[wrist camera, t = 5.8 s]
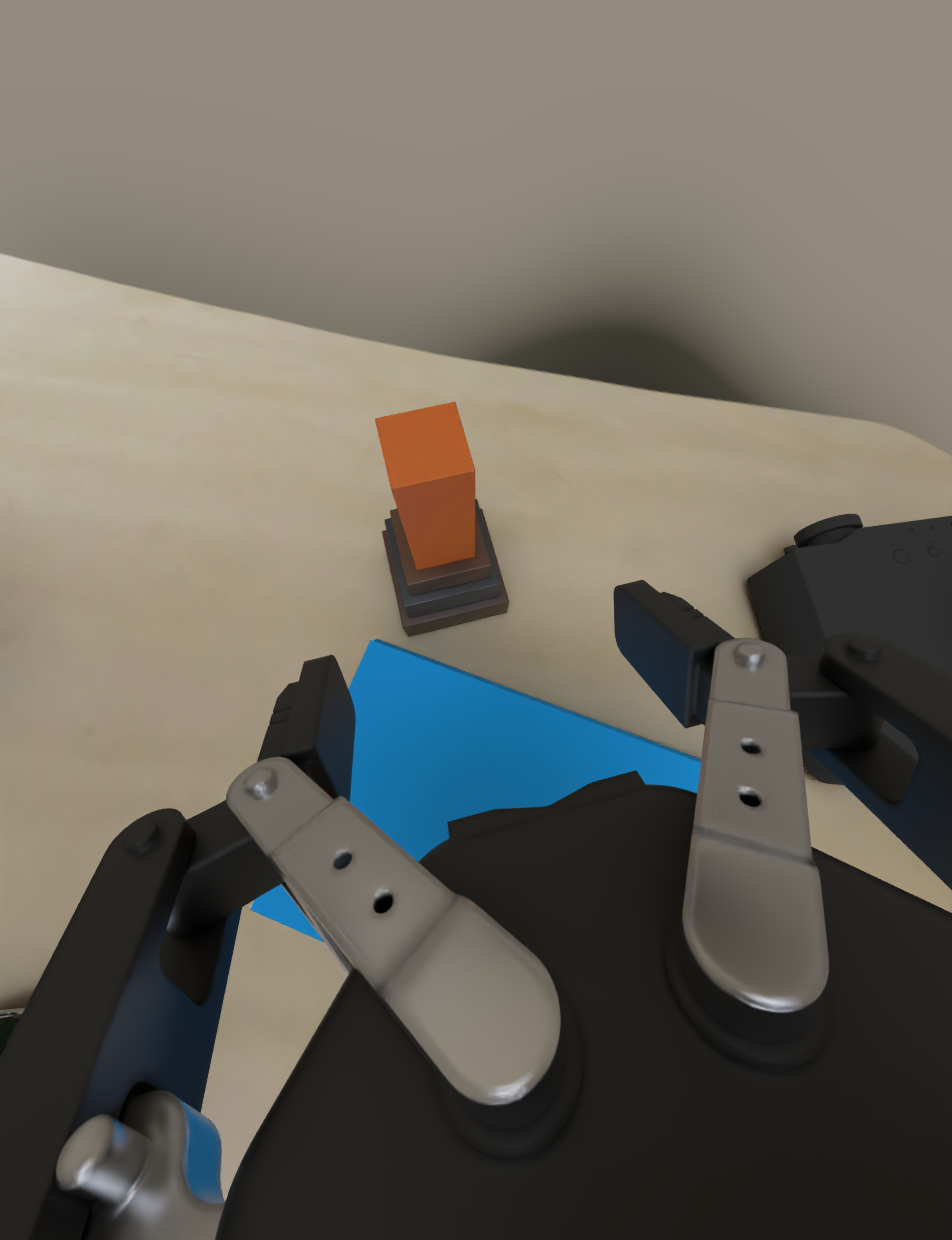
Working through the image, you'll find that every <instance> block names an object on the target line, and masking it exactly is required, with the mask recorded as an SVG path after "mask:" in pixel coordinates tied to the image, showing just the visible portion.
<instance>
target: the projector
mask: <svg viewBox="0 0 952 1240" xmlns="http://www.w3.org/2000/svg"><path fill="white" fill-rule="evenodd" d="M862 527H863V524H862V522H861V519H860V517H859V516H858V515H857V514H845V515H838V516H834V517H831V518H827V519H824V520H821V521H818V522H816V523H814V524H811V525H809V526H807V527H805V528H803V529H802V530H800V531H799V532H798V533H797V534H796V535H795V536H794V540H795V542H796V545H792V546H789V547H786V548H785V549H784V552H785V555H784V556H782V557H781V558H779V559H778V560H776V561H775V562H773V563H771V564H770V565H768V566H767V567H765V568H763V569H762V570H760V571H759V572H757V573H756V574H754V575H752V576H751V577H749V578H748V579H747V585H748V588H749V591H750V594H751V598H752V601H753V604H754V607H755V610H756V613H757V616H758V619H759V622H760V626H761V629H762V632H763V635H764V638H765V641H766V642H768V643H770V644H773V645H774V646H776V647H778V648H779V649H780V650H781V651H782V652H783V653H784V654H785V656H799V655H821V654H822V650H823V646H824V642H825V641H826V639H828V638H829V637H831V636H833V635H837V634H842V633H862V634H869V635H873V636H877V637H881V638H884V639H886V640H889V641H891V642H893V643H895V644H897V645H898V646H900V647H902V648H903V649H905V650H907V651H909V652H910V653H912V654H914V655H916V656H917V657H919V658H921V659H922V660H924V661H926V662H928V663H929V664H931V665H933V666H934V667H936V668H938V669H940V670H941V671H943V672H945V673H947V674H948V675H950V676H952V516H947V517H940V518H932V519H925V520H917V521H909V522H902V523H894V524H887V525H879V526H872V527H864V528H862ZM882 733H883V734H885V735H886V736H887V737H889V738H890V739H891V740H892V741H894V742H895V743H896V744H897V745H899V746H900V747H901V748H903V749H904V750H905V751H906V752H908V753H909V754H910V755H911V756H913V757H914V758H915V759H917V760H918V761H919V756H918V752H917V750H916V747H915V746H914V744H913V743H912V741H911V740H910V739H909V738H908V737H907V736H905V735H904V734H903V733H902V732H900V731H899V730H898V729H896V728H895V727H894V726H892V725H891V724H890V723H888V722H887V721H885V724H884V726H883V729H882ZM802 757H803V760H804V763H805V765H806V768H807V770H808V771H809V773H810V774H811V775H812V776H813V777H814V778H816V779H817V780H818V781H820V782H822V783H827V784H838V785H844V784H843V783H842V782H841V781H840V780H839V779H838V778H837V777H836V776H835V775H834V774H833V773H831V772H830V771H829V770H828V769H827V768H826V767H825V766H824V765H823V764H822V763H821V762H820V761H819V760H818V759H817V758H816V757H815V756H814V755H813V754H812V753H811V752H810V751H809V750H808V749H802Z"/></svg>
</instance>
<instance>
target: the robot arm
mask: <svg viewBox="0 0 952 1240" xmlns="http://www.w3.org/2000/svg"><path fill="white" fill-rule="evenodd" d="M614 624H615V638H616V642H617V645H618V648H619V650H620V652H621V653H622V654H623V656H624V657H625V658H626V659H627V660H628V662H629V663H630V664H631V665H632V666H633V667H634V669H635V670H636V671H637V672H638V673H639V675H640V676H641V677H642V678H643V679H644V680H645V682H646V683H647V684H648V685H649V686H650V687H651V689H652V690H653V691H654V692H655V693H656V695H657V696H658V697H659V698H660V699H661V700H662V702H663V703H664V704H665V705H666V706H667V708H668V709H669V710H670V711H671V712H672V713H673V715H674V716H675V717H676V718H677V719H678V721H679V722H680V723H681V724H682V725H683V726H684V728H689V727H693V726H696V725H700V724H704V725H705V734H704V742H703V750H702V758H701V767H700V775H699V783H698V791H697V793H695V792H692V791H689V790H685V789H681V788H677V787H672V786H666V785H654V784H645V783H644V781H643V780H642V778H641V777H640V775H639V773H638V772H637V770H635V771H631V772H627V773H624V774H620V775H617V776H613V777H609V778H606V779H602V780H598V781H595V782H591V783H589V784H587V785H586V786H584V787H582V788H580V789H578V790H576V791H575V792H573V793H571V794H569V795H567V796H566V797H564V798H562V799H560V800H558V801H557V802H555V803H553V804H551V805H549V806H544V807H527V808H504V809H493V810H489V811H485V812H482V813H478V814H474V815H471V816H467V817H463V818H460V819H456V820H452V821H449V822H447V824H448V831H449V838H448V839H447V840H445V841H443V842H441V843H440V844H439V845H437V846H436V847H434V848H433V849H431V850H430V851H429V852H428V853H427V854H426V855H425V856H423V857H422V858H421V859H420V860H419V862H417V861H416V860H415V859H414V858H413V857H412V856H411V855H409V854H408V853H407V852H406V851H405V850H404V849H403V848H401V847H400V846H399V845H398V844H397V843H396V842H395V841H394V840H392V839H391V838H390V837H389V836H388V835H387V834H386V833H384V832H383V831H382V830H381V829H380V828H379V827H378V826H376V825H375V824H374V823H373V822H372V821H371V820H370V819H368V818H367V817H366V816H365V815H364V814H363V813H362V812H360V811H359V810H358V809H357V808H356V807H355V806H354V805H353V804H351V803H350V793H351V779H352V766H353V752H354V739H355V725H356V715H355V708H354V704H353V701H352V698H351V695H350V693H349V690H348V688H347V685H346V683H345V680H344V677H343V675H342V672H341V670H340V667H339V665H338V662H337V660H336V658H335V657H334V656H333V655H329V656H325V657H321V658H317V659H313V660H309V661H305V662H304V664H303V668H302V672H301V675H300V679H299V682H294V683H290V684H288V686H287V687H286V688H285V689H284V690H283V692H282V693H281V694H280V695H279V696H278V698H277V700H276V704H275V707H274V710H273V714H272V716H271V719H270V722H269V723H270V725H269V726H268V729H267V732H266V735H265V738H264V741H263V744H262V747H261V751H260V754H259V757H258V760H257V763H255V764H253V765H251V766H250V767H248V768H247V769H245V770H244V771H243V772H242V773H241V774H239V775H238V776H237V777H236V779H235V780H234V781H233V782H232V784H231V785H230V787H229V789H228V791H227V794H226V800H225V801H223V802H221V803H220V804H218V805H216V806H214V807H212V808H210V809H208V810H206V811H204V812H202V813H200V814H198V815H196V816H194V817H192V818H190V819H188V820H186V819H185V818H184V816H183V815H182V814H181V812H179V811H178V810H176V809H170V808H167V809H161V810H157V811H154V812H151V813H149V814H147V815H145V816H143V817H141V818H139V819H137V820H136V821H135V822H133V823H132V824H130V825H129V826H128V827H126V828H125V829H124V830H123V831H122V832H121V833H120V834H119V835H118V836H117V837H116V838H115V839H114V840H113V841H112V843H111V844H110V845H109V847H108V849H107V850H106V852H105V854H104V856H103V858H102V860H101V862H100V864H99V866H98V867H97V869H96V871H95V873H94V875H93V877H92V879H91V881H90V883H89V885H88V887H87V889H86V891H85V893H84V895H83V897H82V899H81V901H80V903H79V904H78V906H77V908H76V910H75V912H74V914H73V916H72V918H71V920H70V922H69V924H68V926H67V928H66V930H65V932H64V934H63V936H62V938H61V939H60V941H59V943H58V945H57V947H56V949H55V951H54V953H53V955H52V957H51V959H50V961H49V963H48V965H47V967H46V969H45V971H44V973H43V975H42V976H41V978H40V980H39V982H38V984H37V986H36V988H35V990H34V992H33V994H32V996H31V998H30V1000H29V1002H28V1004H27V1006H26V1008H25V1010H24V1011H23V1013H22V1015H21V1017H20V1019H19V1021H18V1023H17V1025H16V1027H15V1029H14V1031H13V1033H12V1035H11V1037H10V1039H9V1041H8V1043H7V1045H6V1047H5V1048H4V1050H3V1052H2V1054H1V1056H0V1240H952V913H951V912H948V911H946V910H944V909H942V908H940V907H938V906H936V905H934V904H931V903H929V902H927V901H925V900H923V899H921V898H919V897H917V896H915V895H912V894H910V893H908V892H906V891H904V890H902V889H900V888H898V887H895V886H893V885H891V884H889V883H887V882H885V881H883V880H881V879H879V878H876V877H874V876H872V875H870V874H868V873H866V872H864V871H862V870H860V869H857V868H855V867H853V866H851V865H849V864H847V863H845V862H843V861H840V860H838V859H836V858H834V857H832V856H830V855H828V854H826V853H824V852H821V851H819V850H817V849H815V848H813V847H811V841H810V830H809V820H808V809H807V799H806V789H805V778H804V768H803V758H802V749H808V750H809V751H810V752H811V753H812V754H813V755H814V756H815V757H816V758H817V759H818V760H819V761H820V762H821V763H822V764H823V765H824V766H825V767H826V768H827V769H828V770H829V771H830V772H831V773H833V774H834V775H835V776H836V777H837V778H838V779H839V780H840V781H841V782H842V783H843V784H844V785H845V786H846V787H847V788H848V789H849V790H850V791H851V792H852V793H853V794H854V795H855V796H856V797H857V798H858V799H859V800H860V801H861V802H862V803H863V804H864V805H865V806H866V807H867V808H868V809H869V810H870V811H871V812H872V813H873V814H874V815H875V816H877V817H878V818H879V819H880V820H881V821H882V822H883V823H884V824H885V825H886V826H887V827H888V828H889V829H890V830H891V831H892V832H893V833H894V834H895V835H896V836H897V837H898V838H899V839H900V840H901V841H902V842H903V843H904V844H905V845H906V846H907V847H908V848H909V849H910V850H911V851H912V852H913V853H914V854H915V855H916V856H917V857H918V858H920V859H921V860H922V861H923V862H924V863H925V864H926V865H927V866H928V867H929V868H930V869H931V870H932V871H933V872H934V873H935V874H936V875H937V876H938V877H939V878H940V879H941V880H942V881H943V882H944V883H945V884H946V885H947V886H948V887H949V888H950V889H951V890H952V676H950V675H948V674H947V673H945V672H943V671H941V670H940V669H938V668H936V667H934V666H933V665H931V664H929V663H928V662H926V661H924V660H922V659H921V658H919V657H917V656H916V655H914V654H912V653H910V652H909V651H907V650H905V649H903V648H902V647H900V646H898V645H897V644H895V643H893V642H891V641H889V640H886V639H884V638H881V637H877V636H873V635H869V634H862V633H842V634H837V635H833V636H831V637H829V638H828V639H826V641H825V642H824V646H823V650H822V654H821V655H799V656H785V654H784V653H783V652H782V651H781V650H780V649H779V648H778V647H776V646H774V645H773V644H770V643H768V642H765V641H762V640H757V639H751V638H736V639H735V638H734V637H732V636H731V635H730V634H729V633H727V632H726V631H725V630H723V629H722V628H721V627H719V626H718V625H717V624H715V623H714V622H713V621H711V620H710V619H709V618H707V617H706V616H705V617H704V616H703V614H702V613H701V612H699V611H698V610H697V609H694V607H693V606H692V605H690V604H689V603H688V602H686V601H685V600H684V599H682V598H680V597H677V596H675V595H672V594H669V593H666V592H662V593H659V592H658V591H657V590H655V589H654V588H653V587H652V586H650V585H649V584H648V583H647V582H645V581H644V580H639V581H635V582H631V583H627V584H623V585H619V586H616V587H615V589H614ZM885 721H887V722H888V723H890V724H891V725H892V726H894V727H895V728H896V729H898V730H899V731H900V732H902V733H903V734H904V735H905V736H907V737H908V738H909V739H910V740H911V741H912V743H913V744H914V746H915V747H916V750H917V752H918V756H919V761H918V760H917V759H915V758H914V757H913V756H911V755H910V754H909V753H908V752H906V751H905V750H904V749H903V748H901V747H900V746H899V745H897V744H896V743H895V742H894V741H892V740H891V739H890V738H889V737H887V736H886V735H885V734H883V733H882V729H883V726H884V724H885ZM280 884H281V885H282V887H283V888H284V889H285V891H286V892H287V893H288V895H289V896H290V897H291V899H292V900H293V901H294V903H295V904H296V905H297V906H298V908H299V909H300V910H301V912H302V913H303V914H304V916H305V917H306V918H307V920H308V921H309V922H310V924H311V925H312V926H313V928H314V929H315V930H316V932H317V933H318V934H319V935H320V937H321V938H322V939H323V941H324V942H325V944H326V945H327V946H328V948H329V949H330V951H331V952H332V953H333V955H334V956H335V958H336V959H337V961H338V962H339V963H340V965H341V966H342V967H343V969H344V970H345V972H346V973H347V974H348V977H347V978H346V980H345V982H344V983H343V985H342V987H341V989H340V990H339V992H338V994H337V995H336V997H335V999H334V1001H333V1002H332V1004H331V1006H330V1008H329V1009H328V1011H327V1013H326V1014H325V1016H324V1018H323V1020H322V1021H321V1023H320V1025H319V1026H318V1028H317V1030H316V1032H315V1033H314V1035H313V1037H312V1038H311V1040H310V1042H309V1044H308V1045H307V1047H306V1049H305V1051H304V1052H303V1054H302V1056H301V1057H300V1059H299V1061H298V1063H297V1064H296V1066H295V1068H294V1069H293V1071H292V1073H291V1075H290V1076H289V1078H288V1080H287V1082H286V1083H285V1085H284V1087H283V1088H282V1090H281V1092H280V1094H279V1095H278V1097H277V1099H276V1100H275V1102H274V1104H273V1106H272V1107H271V1109H270V1111H269V1113H268V1114H267V1116H266V1118H265V1119H264V1121H263V1123H262V1125H261V1126H260V1128H259V1130H258V1131H257V1133H256V1135H255V1137H254V1138H253V1140H252V1142H251V1144H250V1146H249V1148H248V1149H247V1151H246V1153H245V1155H244V1157H243V1159H242V1161H241V1164H240V1166H239V1168H238V1170H237V1173H236V1175H235V1177H234V1180H233V1182H232V1185H231V1187H230V1190H229V1193H228V1196H227V1199H226V1202H225V1201H224V1199H223V1194H222V1190H221V1181H220V1170H221V1153H222V1151H221V1140H220V1136H219V1133H218V1130H217V1128H216V1126H215V1125H214V1124H213V1123H212V1121H211V1120H209V1119H208V1118H206V1117H205V1116H204V1115H202V1114H201V1108H202V1103H203V1098H204V1093H205V1088H206V1083H207V1078H208V1073H209V1068H210V1063H211V1058H212V1053H213V1048H214V1043H215V1039H216V1034H217V1029H218V1024H219V1019H220V1014H221V1009H222V1004H223V999H224V994H225V989H226V984H227V979H228V974H229V969H230V964H231V960H232V955H233V950H234V945H235V940H236V935H237V930H238V925H239V920H240V915H241V910H242V907H243V906H244V905H246V904H248V903H250V902H251V901H253V900H255V899H256V898H258V897H260V896H262V895H263V894H265V893H267V892H268V891H270V890H272V889H273V888H275V887H277V886H279V885H280Z"/></svg>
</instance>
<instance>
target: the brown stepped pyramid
mask: <svg viewBox="0 0 952 1240" xmlns="http://www.w3.org/2000/svg"><path fill="white" fill-rule="evenodd" d="M390 514H391V518H389V519H385V525H386V529H387V530H385V531H382V534H383V539H384V543H385V548H386V552H387V557H388V561H389V566H390V570H391V575H392V579H393V584H394V589H395V593H396V598H397V602H398V607H399V611H400V616H401V620H402V625H403V628H404V630H405V632H406V633H407V635H408V636H412V635H416V634H420V633H425V632H429V631H433V630H437V629H441V628H445V627H449V626H453V625H457V624H461V623H465V622H469V621H473V620H477V619H481V618H486V617H490V616H494V615H498V614H502V613H506V612H507V608H508V604H509V600H508V596H507V593H506V589H505V586H504V583H503V579H502V576H501V572H500V569H499V565H498V562H497V558H496V555H495V551H494V548H493V545H492V541H491V538H490V534H489V531H488V527H487V524H486V520H485V517H484V514H483V510H482V509H480V508H479V505H478V501H477V499H475V557H472V558H468V559H463V560H459V561H455V562H451V563H446V564H442V565H438V566H434V567H429V568H425V569H421V570H417V569H416V565H415V562H414V559H413V556H412V553H411V550H410V547H409V543H408V540H407V537H406V534H405V531H404V528H403V524H402V521H401V518H400V515H399V512H398V509H395V510H391V511H390Z"/></svg>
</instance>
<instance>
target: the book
mask: <svg viewBox="0 0 952 1240" xmlns="http://www.w3.org/2000/svg"><path fill="white" fill-rule="evenodd" d="M349 693H350V695H351V698H352V701H353V704H354V708H355V715H356V725H355V739H354V752H353V766H352V779H351V793H350V803H351V804H353V805H354V806H355V807H356V808H357V809H358V810H359V811H360V812H362V813H363V814H364V815H365V816H366V817H367V818H368V819H370V820H371V821H372V822H373V823H374V824H375V825H376V826H378V827H379V828H380V829H381V830H382V831H383V832H384V833H386V834H387V835H388V836H389V837H390V838H391V839H392V840H394V841H395V842H396V843H397V844H398V845H399V846H400V847H401V848H403V849H404V850H405V851H406V852H407V853H408V854H409V855H411V856H412V857H413V858H414V859H415V860H416V861H417V862H419V860H420V859H421V858H422V857H423V856H425V855H426V854H427V853H428V852H429V851H430V850H431V849H433V848H434V847H436V846H437V845H439V844H440V843H441V842H443V841H445V840H447V839H448V838H449V831H448V824H447V822H449V821H452V820H456V819H460V818H463V817H467V816H471V815H474V814H478V813H482V812H485V811H489V810H493V809H504V808H527V807H544V806H549V805H551V804H553V803H555V802H557V801H558V800H560V799H562V798H564V797H566V796H567V795H569V794H571V793H573V792H575V791H576V790H578V789H580V788H582V787H584V786H586V785H587V784H589V783H591V782H595V781H598V780H602V779H606V778H609V777H613V776H617V775H620V774H624V773H627V772H631V771H635V770H637V772H638V773H639V775H640V777H641V778H642V780H643V781H644V783H645V784H654V785H666V786H672V787H677V788H681V789H685V790H689V791H692V792H695V793H697V791H698V783H699V775H700V767H701V759H699V758H696V757H694V756H691V755H688V754H686V753H683V752H680V751H677V750H675V749H672V748H669V747H667V746H664V745H661V744H659V743H656V742H653V741H651V740H648V739H645V738H642V737H640V736H637V735H634V734H632V733H629V732H626V731H624V730H621V729H618V728H615V727H613V726H610V725H607V724H605V723H602V722H599V721H597V720H594V719H591V718H589V717H586V716H583V715H580V714H578V713H575V712H572V711H570V710H567V709H564V708H562V707H559V706H556V705H554V704H551V703H548V702H545V701H543V700H540V699H537V698H535V697H532V696H529V695H527V694H524V693H521V692H519V691H516V690H513V689H510V688H508V687H505V686H502V685H500V684H497V683H494V682H492V681H489V680H486V679H483V678H481V677H478V676H475V675H473V674H470V673H467V672H465V671H462V670H459V669H457V668H454V667H451V666H448V665H446V664H443V663H440V662H438V661H435V660H432V659H430V658H427V657H424V656H422V655H419V654H416V653H413V652H411V651H408V650H405V649H403V648H400V647H397V646H395V645H392V644H389V643H387V642H384V641H381V640H378V639H376V640H374V641H371V640H370V642H369V645H368V647H367V649H366V651H365V654H364V656H363V658H362V660H361V663H360V665H359V667H358V669H357V672H356V674H355V676H354V678H353V681H352V683H351V685H350V687H349ZM250 910H252V911H254V912H257V913H259V914H261V915H263V916H266V917H268V918H270V919H272V920H275V921H277V922H279V923H281V924H284V925H286V926H288V927H290V928H293V929H295V930H297V931H299V932H302V933H304V934H306V935H308V936H311V937H313V938H315V939H318V940H320V941H322V942H324V941H323V939H322V938H321V937H320V935H319V934H318V933H317V932H316V930H315V929H314V928H313V926H312V925H311V924H310V922H309V921H308V920H307V918H306V917H305V916H304V914H303V913H302V912H301V910H300V909H299V908H298V906H297V905H296V904H295V903H294V901H293V900H292V899H291V897H290V896H289V895H288V893H287V892H286V891H285V889H284V888H283V887H282V885H281V884H280V885H279V886H277V887H275V888H273V889H272V890H270V891H268V892H267V893H265V894H263V895H262V896H260V897H258V898H256V899H255V900H254V902H253V905H252V907H251V909H250ZM324 943H325V942H324Z"/></svg>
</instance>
